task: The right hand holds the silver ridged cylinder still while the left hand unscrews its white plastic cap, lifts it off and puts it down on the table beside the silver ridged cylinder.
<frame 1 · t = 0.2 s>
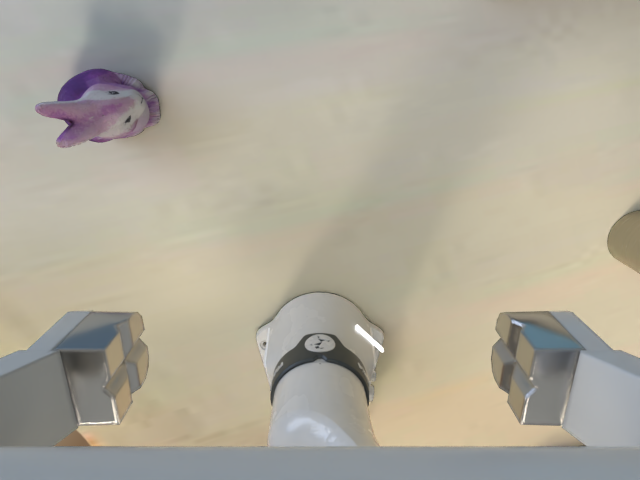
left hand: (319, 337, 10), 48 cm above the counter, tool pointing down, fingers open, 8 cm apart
figurine: (124, 102, 54), on the counter
silver ridged cylinder: (636, 236, 60), on the counter
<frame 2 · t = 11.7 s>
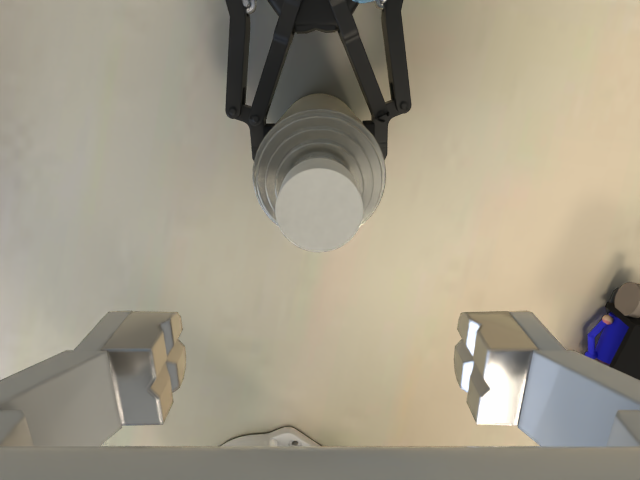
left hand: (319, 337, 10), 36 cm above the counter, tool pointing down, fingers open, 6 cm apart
right hand: (321, 197, 40), fingers closed on silver ridged cylinder, 8 cm apart
cap: (319, 209, 20), point 26 cm above the counter, screwed on, not yet turned
silver ridged cylinder: (319, 133, 44), on the counter, touching right hand
figurine character: (604, 329, 52), on the counter
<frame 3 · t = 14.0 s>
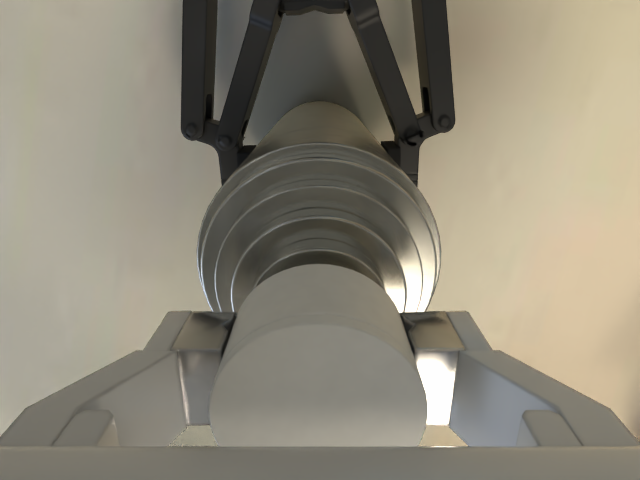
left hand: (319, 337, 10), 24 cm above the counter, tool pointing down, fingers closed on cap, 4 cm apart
right hand: (321, 249, 28), fingers closed on silver ridged cylinder, 8 cm apart
cap: (318, 406, 8), point 26 cm above the counter, screwed on, not yet turned, touching left hand
silver ridged cylinder: (319, 155, 32), on the counter, touching right hand
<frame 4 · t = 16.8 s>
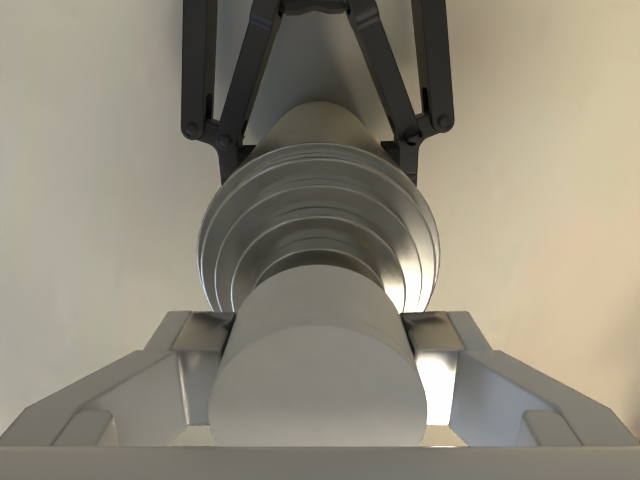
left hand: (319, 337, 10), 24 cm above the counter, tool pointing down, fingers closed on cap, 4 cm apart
right hand: (321, 249, 28), fingers closed on silver ridged cylinder, 8 cm apart
cap: (318, 407, 8), point 26 cm above the counter, turned 70° so far, risen 0.1 cm, still on its thread, touching left hand
silver ridged cylinder: (319, 155, 32), on the counter, touching right hand
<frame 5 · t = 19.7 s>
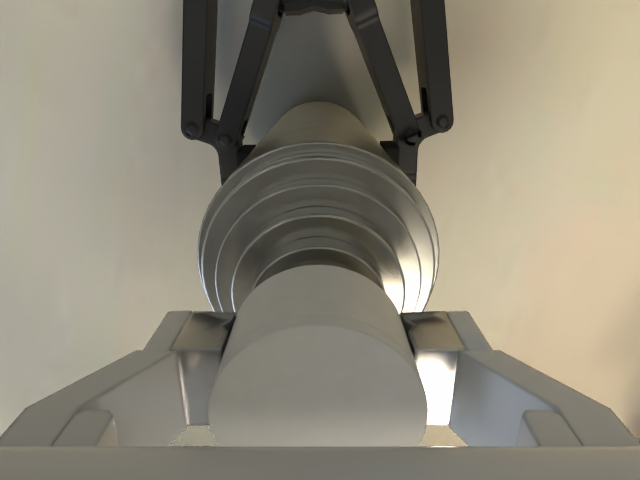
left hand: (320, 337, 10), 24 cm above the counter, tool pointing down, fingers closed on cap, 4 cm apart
right hand: (320, 248, 28), fingers closed on silver ridged cylinder, 8 cm apart
cap: (318, 407, 8), point 26 cm above the counter, turned 141° so far, risen 0.2 cm, still on its thread, touching left hand
silver ridged cylinder: (318, 155, 33), on the counter, touching right hand
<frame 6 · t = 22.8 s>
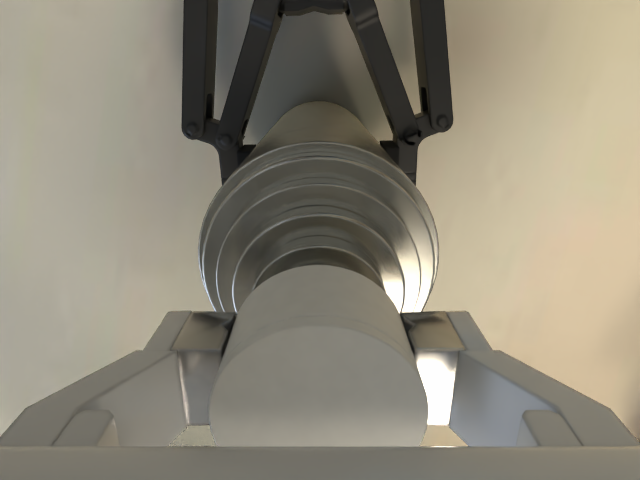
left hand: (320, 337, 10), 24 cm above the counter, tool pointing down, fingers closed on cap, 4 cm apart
right hand: (321, 247, 28), fingers closed on silver ridged cylinder, 8 cm apart
cap: (318, 408, 8), point 26 cm above the counter, turned 211° so far, risen 0.2 cm, still on its thread, touching left hand
silver ridged cylinder: (318, 155, 33), on the counter, touching right hand
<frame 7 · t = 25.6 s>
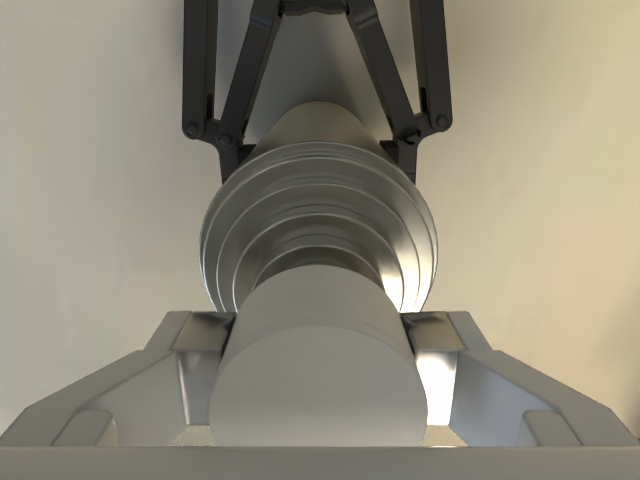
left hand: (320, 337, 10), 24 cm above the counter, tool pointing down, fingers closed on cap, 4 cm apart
right hand: (321, 247, 28), fingers closed on silver ridged cylinder, 8 cm apart
cap: (318, 408, 8), point 26 cm above the counter, turned 281° so far, risen 0.3 cm, still on its thread, touching left hand
silver ridged cylinder: (318, 155, 33), on the counter, touching right hand
when the left hand's fingers open (2 cm above the counter, at t = 34.7 s): cap drops 2 cm, point 2 cm above the counter.
when the right hand's fingers open (6 cm above the counter, at t = 35.9 s): silver ridged cylinder stays where it is, on the counter.
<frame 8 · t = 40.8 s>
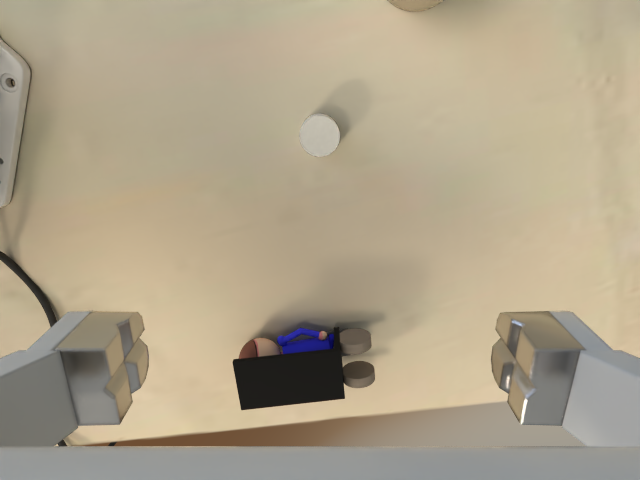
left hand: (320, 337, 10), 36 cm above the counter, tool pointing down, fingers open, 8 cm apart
cap: (319, 136, 42), point 2 cm above the counter, off its thread
figurine character: (305, 342, 53), on the counter
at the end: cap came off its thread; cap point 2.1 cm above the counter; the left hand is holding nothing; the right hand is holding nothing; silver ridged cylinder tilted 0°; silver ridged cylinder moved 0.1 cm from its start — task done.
